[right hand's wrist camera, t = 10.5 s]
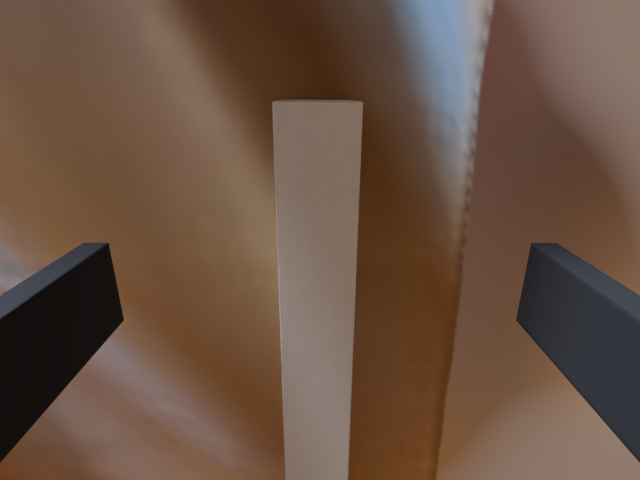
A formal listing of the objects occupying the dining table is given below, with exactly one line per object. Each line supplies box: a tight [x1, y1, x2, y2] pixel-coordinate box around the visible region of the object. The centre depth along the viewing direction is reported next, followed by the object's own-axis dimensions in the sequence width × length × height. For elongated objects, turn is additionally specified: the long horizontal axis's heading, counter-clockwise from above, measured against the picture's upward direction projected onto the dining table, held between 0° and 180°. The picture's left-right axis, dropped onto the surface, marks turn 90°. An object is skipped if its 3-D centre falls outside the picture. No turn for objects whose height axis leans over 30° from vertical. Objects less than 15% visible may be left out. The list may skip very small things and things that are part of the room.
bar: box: [272, 99, 363, 480], centre depth 35 cm, size 56×5×8 cm, turn 0°
